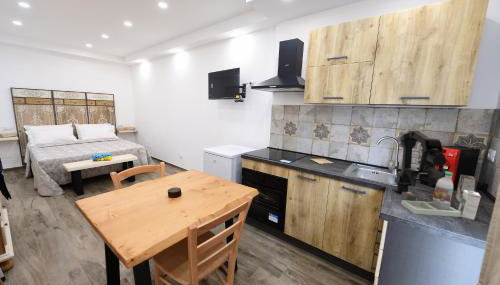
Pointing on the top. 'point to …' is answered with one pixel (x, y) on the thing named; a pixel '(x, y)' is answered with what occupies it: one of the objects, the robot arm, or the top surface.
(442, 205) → the twin plug block
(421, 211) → the socket strip
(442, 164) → the robot arm
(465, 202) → the syrup box
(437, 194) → the milk bottle
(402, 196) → the plug block
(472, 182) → the coffee box
